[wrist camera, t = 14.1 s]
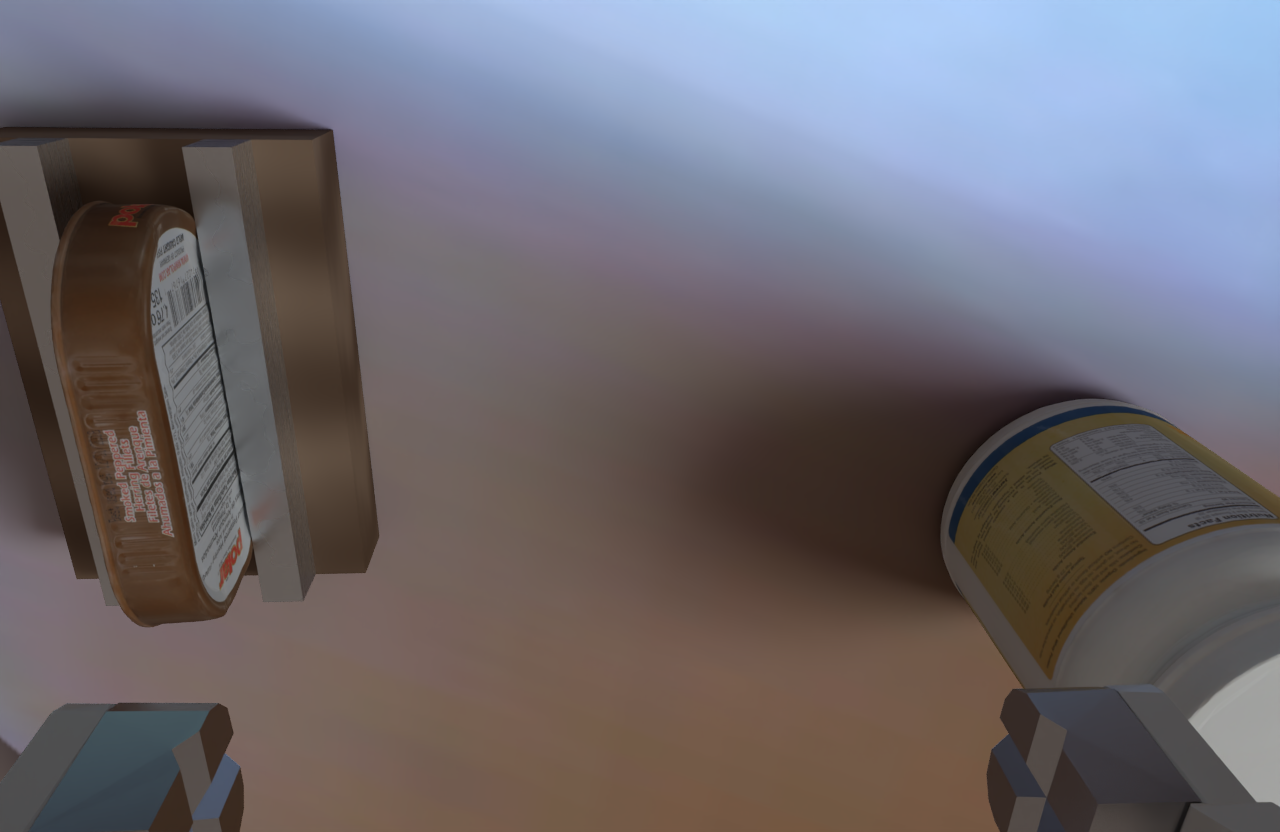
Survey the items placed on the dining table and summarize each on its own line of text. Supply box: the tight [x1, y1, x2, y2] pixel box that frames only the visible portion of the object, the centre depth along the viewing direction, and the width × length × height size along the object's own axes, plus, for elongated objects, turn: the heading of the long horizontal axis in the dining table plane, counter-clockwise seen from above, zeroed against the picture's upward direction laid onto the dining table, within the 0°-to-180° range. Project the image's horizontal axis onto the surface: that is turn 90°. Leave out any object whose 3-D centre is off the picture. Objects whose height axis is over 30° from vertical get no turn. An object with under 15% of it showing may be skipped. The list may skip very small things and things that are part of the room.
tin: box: [50, 201, 253, 627], centre depth 32 cm, size 15×3×8 cm, turn 179°
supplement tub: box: [940, 399, 1280, 807], centre depth 36 cm, size 12×12×17 cm
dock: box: [0, 127, 379, 606], centre depth 36 cm, size 18×12×5 cm, turn 179°
